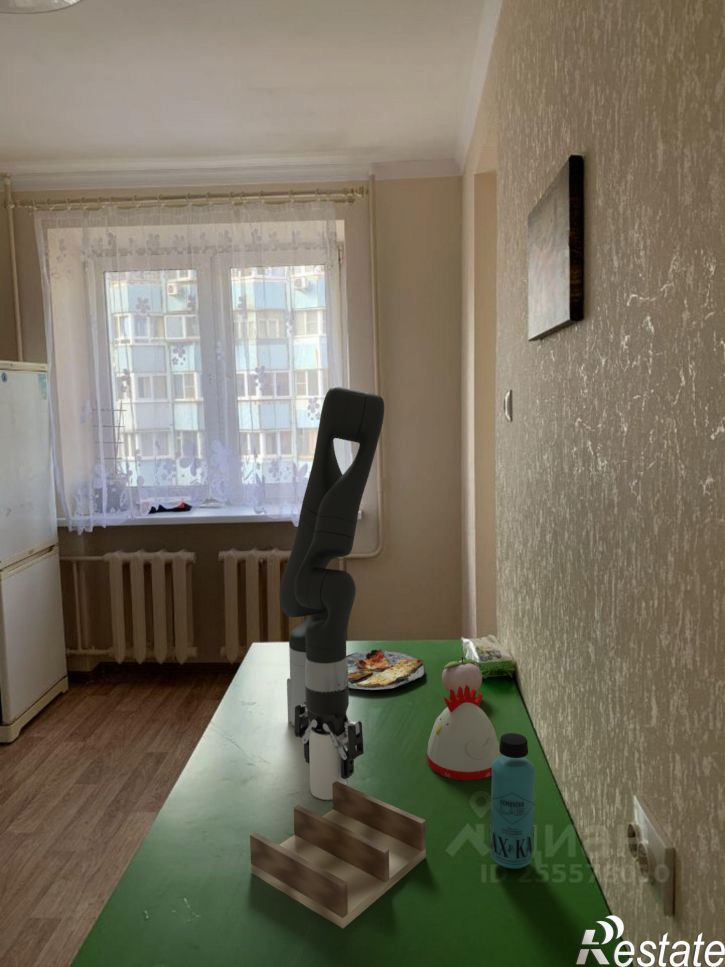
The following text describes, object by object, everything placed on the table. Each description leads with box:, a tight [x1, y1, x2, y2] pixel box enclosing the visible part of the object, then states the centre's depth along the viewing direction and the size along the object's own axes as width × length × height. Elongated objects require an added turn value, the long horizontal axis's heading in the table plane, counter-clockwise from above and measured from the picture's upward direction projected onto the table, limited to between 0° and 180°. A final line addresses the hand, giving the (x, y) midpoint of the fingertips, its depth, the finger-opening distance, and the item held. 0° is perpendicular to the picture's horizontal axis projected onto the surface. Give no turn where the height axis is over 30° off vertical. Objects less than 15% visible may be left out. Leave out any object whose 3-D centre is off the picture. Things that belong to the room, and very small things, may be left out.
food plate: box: [346, 648, 426, 692], centre depth 182 cm, size 25×23×4 cm
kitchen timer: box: [426, 685, 501, 781], centre depth 138 cm, size 14×14×15 cm
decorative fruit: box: [441, 656, 483, 697], centre depth 166 cm, size 9×8×10 cm
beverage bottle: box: [488, 732, 536, 869], centre depth 107 cm, size 6×7×20 cm
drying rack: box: [249, 781, 427, 929], centre depth 108 cm, size 18×19×6 cm
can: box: [309, 727, 348, 801], centre depth 128 cm, size 6×6×12 cm
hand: (328, 769), depth 128 cm, fingers open, 8 cm apart
